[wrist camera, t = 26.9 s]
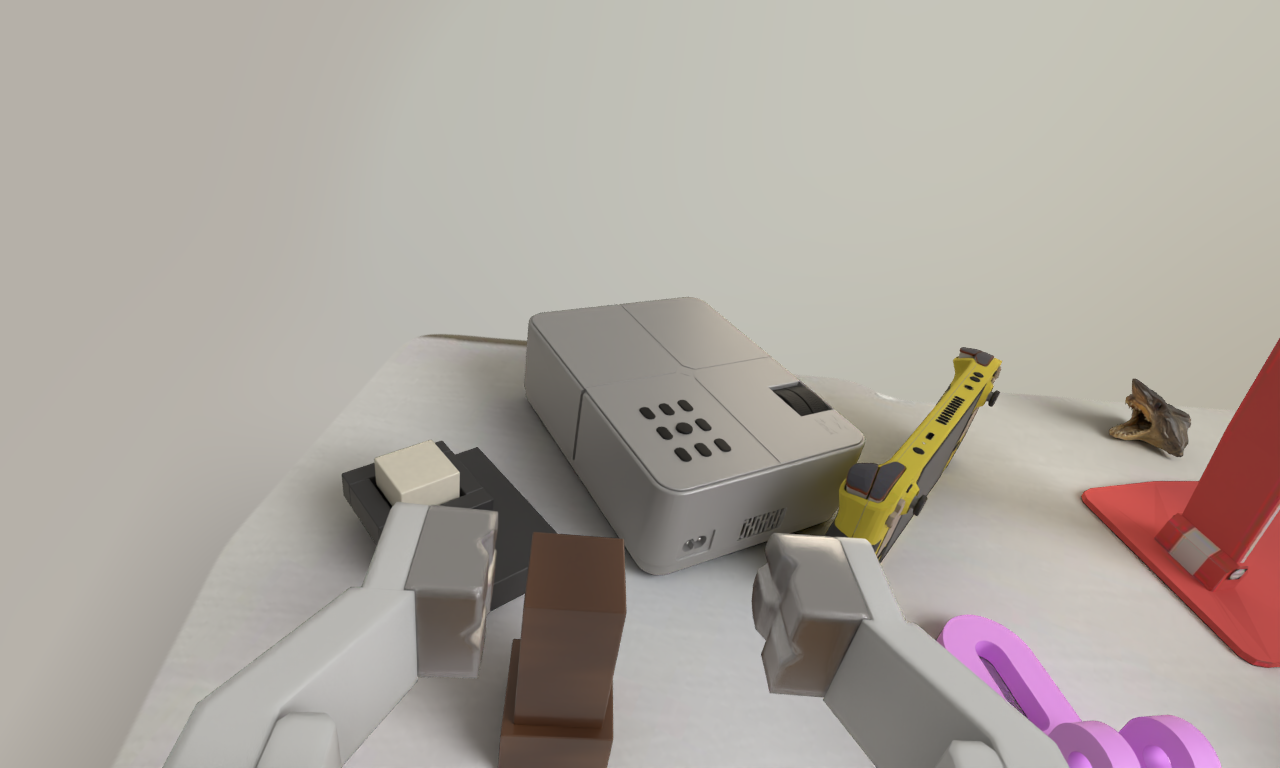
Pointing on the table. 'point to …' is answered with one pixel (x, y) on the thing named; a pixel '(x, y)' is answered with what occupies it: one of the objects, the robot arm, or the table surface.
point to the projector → (685, 429)
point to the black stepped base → (477, 491)
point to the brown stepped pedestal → (565, 655)
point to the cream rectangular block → (417, 475)
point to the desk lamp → (1217, 526)
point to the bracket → (1092, 749)
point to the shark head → (1154, 421)
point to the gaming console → (914, 460)
